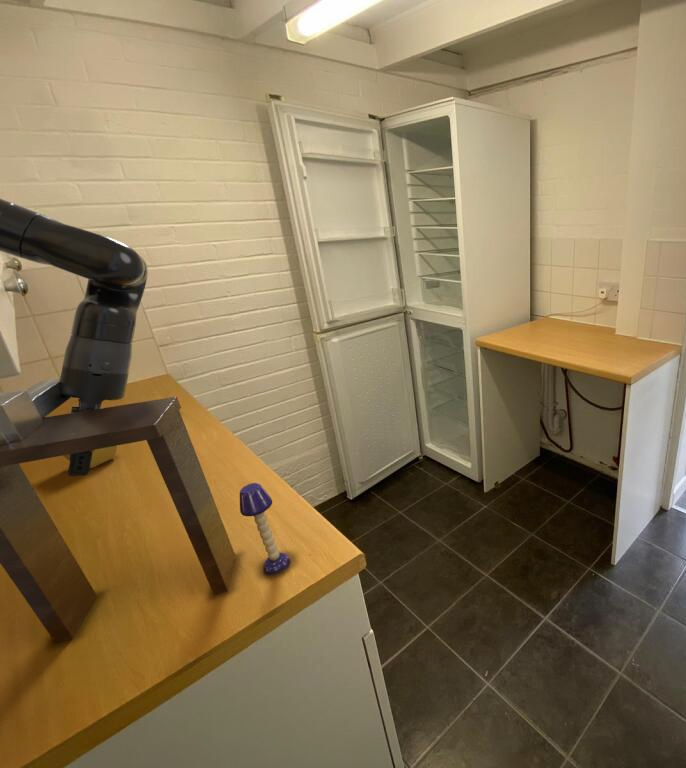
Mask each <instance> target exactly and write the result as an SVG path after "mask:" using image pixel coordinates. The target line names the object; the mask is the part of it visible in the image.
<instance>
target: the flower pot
mask: <svg viewBox="0 0 686 768" xmlns="http://www.w3.org/2000/svg"><path fill="white" fill-rule="evenodd" d="M117 449H118V445H117V446H112V447H106V448H101V449H95V450H94V452H93V453H92V458H91V463H90V469H94V468H96V467H97V466H100V465H102V464H104V463H106V462H108V461H111V460H112V459H114V457H115V456H116V453H117ZM62 457H64V458H65V459H66V460H68V461H69V462H70V454H68V455H63V456H62Z"/></svg>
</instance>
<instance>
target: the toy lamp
mask: <svg viewBox="0 0 686 768" xmlns="http://www.w3.org/2000/svg"><path fill="white" fill-rule="evenodd" d="M272 505H273V499H272V497H271V495H269V493H268V492H267V491H266V489H265V488H264V487H263V486H262V485H261V484H260V483H258V482H252V483H248V484H246V485H244V486H243V487H242V488H241V489H240V491H239V513H240V514H241V515H242V516H244V517H253V518H254V522H255V524H256V528H257V531H258V532H259V537H260V538H261V540H262V544H263V546H265V552H266V553H267V556H268V557H267V558H266V559H265V561H264V563H263V572H264V574H266V575H268V576H274V575H277V574H280V573H282V572H284V571H285V570H286V569H287V568H288V567H289V566H290V563H291V558H290V557H289V554H287V553H284V552H280V551H279V549H278V545H277V543H276V542H275V536H273V533H272V530H271V528H270V523H269V522H268V521H267V520H268V517H267V515H266V514H265V512H266V511H267V510H269V509H270V508H271V506H272Z"/></svg>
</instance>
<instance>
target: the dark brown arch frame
mask: <svg viewBox="0 0 686 768" xmlns="http://www.w3.org/2000/svg"><path fill="white" fill-rule="evenodd" d="M181 409H182V406H181V403H180V400H179V398H178V396H171V397H164V398H159V399H153V400H146V401H145V400H144V401H139V402H133V403H127V404H121V405H114V406H108V407H101V409H94V410H88V411H82V412H75V413H71V412H70V413H63V414H55V415H51V416H46V417H44V418H43V419H42V420H43V422H44V424H43V425H41V426H40V427H39V428H37V429H36V430H35V431H33V432H32V433H31V434H30V435H28V436H27V437H26V438H24V439H23V440H21V441H15V442H11V443H9V444H6V445H0V565H1V566H2V568H3V569H4V571H5V572H6V574H7V575H8V576H9V578H10V579H11V581H12V582H13V584H14V586H16V589H18V591H19V592H20V594H21V595H22V597H23V598H24V600H25V601H26V603H27V604H28V605H29V607H30V608H31V610H32V611H33V612H34V614H35V616H36V617H37V619H38V620H39V621H40V623H41V624H42V625H43V627H44V629H45V630H46V631H47V632H48V635H49V636H50V638H51V639H52V641H54V643H55V644H59V643H62V642H64V641H68V640H71V639H74V637H75V636H76V634H77V632H78V630H79V629H80V627H81V625H82V624H83V622H84V620H85V618H86V616H87V615H88V613H89V612H90V610H91V608H92V606H93V604H94V602H95V601H96V600H97V597H98V595H97V593H96V591H95V589H94V588H93V587H92V585H91V583H90V582H89V579H88V577H86V574H85V572H84V571H83V570H82V568H81V567H80V564H79V563H78V561H77V559H76V558H75V556H74V554H73V553H72V551H71V549H70V547H69V545H68V544H67V543H66V541H65V539H64V537H63V536H62V534H61V533H60V530H59V529H58V528H57V526H56V524H55V522H54V520H53V519H52V517H51V516H50V514H49V512H48V510H47V509H46V507H45V505H44V504H43V502H42V500H41V499H40V496H39V495H38V493H37V492H36V490H35V489H34V487H33V485H32V483H31V482H30V479H29V478H28V476H27V474H26V473H25V472H24V470H23V468H22V466H21V464H24V463H30V462H35V461H41V460H46V459H52V458H56V457H64V456H63V455H68V454H74V453H79V452H85V451H90V450H95V449H101V448H106V447H112V446H117V447H118V446H122V445H123V446H124V445H128V444H133V443H138V442H139V443H140V442H143V441H146V443H147V445H148V447H149V449H150V452H151V454H152V456H153V458H154V461H155V463H156V465H157V468H158V470H159V472H160V474H161V477H162V479H163V481H164V484H165V485H166V488H167V490H168V493H169V495H170V497H171V500H172V502H173V504H174V508H175V510H176V511H177V513H178V516H179V518H180V522H181V523H182V525H183V527H184V530H185V532H186V534H187V537H188V539H189V541H190V544H191V546H192V548H193V550H194V553H195V555H196V557H197V559H198V561H199V564H200V566H201V569H202V571H203V573H204V576H205V578H206V580H207V583H208V584H209V587H210V589H211V592H212V594H213V596H217V595H219V594H224V593H227V592H228V591H229V588H230V584H231V581H232V576H233V572H234V567H235V564H236V559H237V556H236V553H235V551H234V548H233V545H232V543H231V541H230V538H229V534H228V533H227V530H226V527H225V524H224V522H223V519H222V517H221V514H220V512H219V509H218V507H217V504H216V501H215V499H214V496H213V494H212V491H211V489H210V486H209V484H208V480H207V479H206V476H205V473H204V471H203V468H202V465H201V463H200V460H199V458H198V455H197V452H196V450H195V447H194V445H193V443H192V440H191V437H190V434H189V432H188V429H187V426H186V424H185V422H184V418H183V416H182V413H181Z"/></svg>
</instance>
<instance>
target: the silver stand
mask: <svg viewBox="0 0 686 768" xmlns="http://www.w3.org/2000/svg"><path fill="white" fill-rule="evenodd" d="M69 399H72V397H67V396H63V395H62V394H61V393H60V378H55V379H47V380H40V381H38V382H37V383H35V384H33V385H31V386H29V387H28V388H27V389H23V390H17V391H9V392H3V393H0V445H6V444H9V443H11V442H15V441H21V440H23V439H24V438H26V437H27V436H28V435H30V434H31V433H32V432H33V431H35V430H36V429H37V428H39V427H40V426H41V425H43V424H44V422H43V420H42V419H43V418H44V417H48V416H49V415H50V414H51V413H52V412H54V411H55V410H56V409H57V408H59V407H60V406H62V405H63V404H65V402H67V401H68V400H69Z"/></svg>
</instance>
